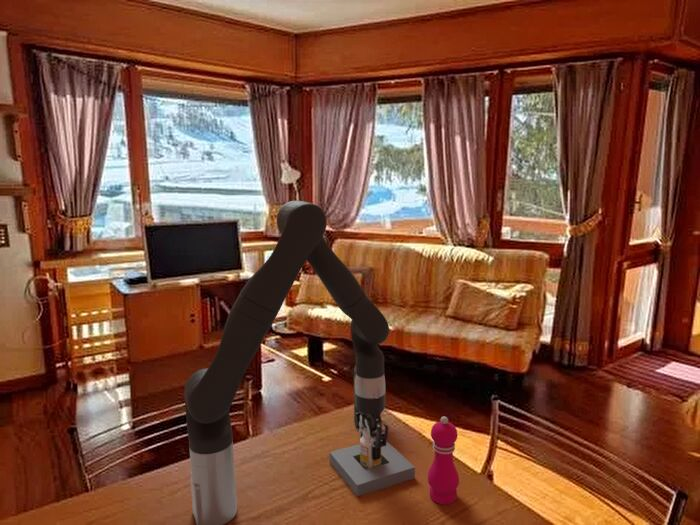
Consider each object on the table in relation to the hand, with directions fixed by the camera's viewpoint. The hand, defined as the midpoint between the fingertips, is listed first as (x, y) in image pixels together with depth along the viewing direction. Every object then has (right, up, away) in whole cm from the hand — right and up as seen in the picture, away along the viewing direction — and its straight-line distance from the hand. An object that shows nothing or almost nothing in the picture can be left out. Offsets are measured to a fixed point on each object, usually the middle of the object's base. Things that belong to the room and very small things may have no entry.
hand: (370, 452), depth 129 cm
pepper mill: (+17, -7, -10) cm, 20 cm away
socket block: (0, -5, +1) cm, 5 cm away
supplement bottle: (0, -4, +1) cm, 4 cm away
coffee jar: (0, -1, +26) cm, 26 cm away
